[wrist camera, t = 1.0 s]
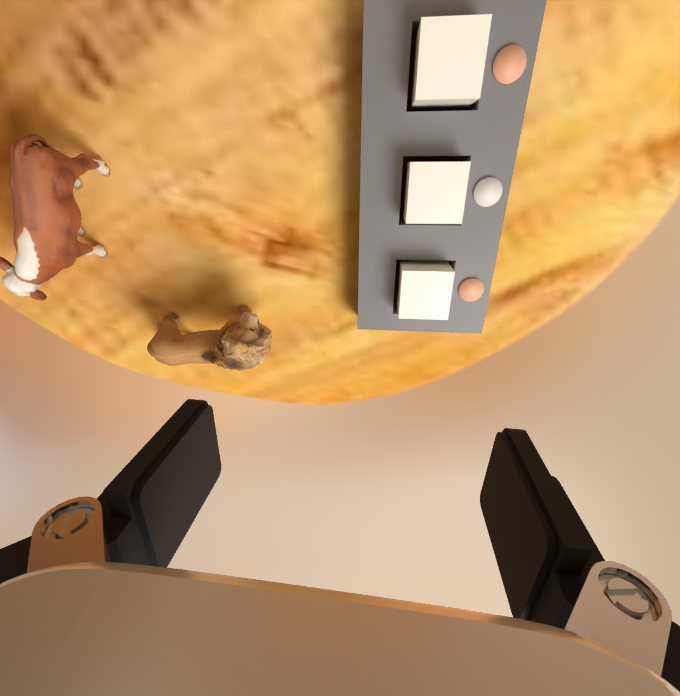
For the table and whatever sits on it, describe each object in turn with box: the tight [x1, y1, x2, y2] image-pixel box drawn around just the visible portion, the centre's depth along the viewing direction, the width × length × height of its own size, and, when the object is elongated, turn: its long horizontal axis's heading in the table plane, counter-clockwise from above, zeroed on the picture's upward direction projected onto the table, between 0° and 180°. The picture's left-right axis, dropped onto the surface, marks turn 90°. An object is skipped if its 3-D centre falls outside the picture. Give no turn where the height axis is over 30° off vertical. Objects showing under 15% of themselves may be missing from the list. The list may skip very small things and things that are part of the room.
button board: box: [357, 0, 546, 334], centre depth 28 cm, size 23×11×3 cm, turn 0°
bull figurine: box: [0, 134, 110, 301], centre depth 30 cm, size 4×13×8 cm, turn 155°
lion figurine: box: [147, 306, 272, 370], centre depth 33 cm, size 15×5×9 cm, turn 105°
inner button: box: [411, 14, 492, 108], centre depth 23 cm, size 4×4×4 cm
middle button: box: [403, 162, 471, 224], centre depth 26 cm, size 4×4×4 cm
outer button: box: [397, 260, 455, 320], centre depth 30 cm, size 4×4×4 cm
